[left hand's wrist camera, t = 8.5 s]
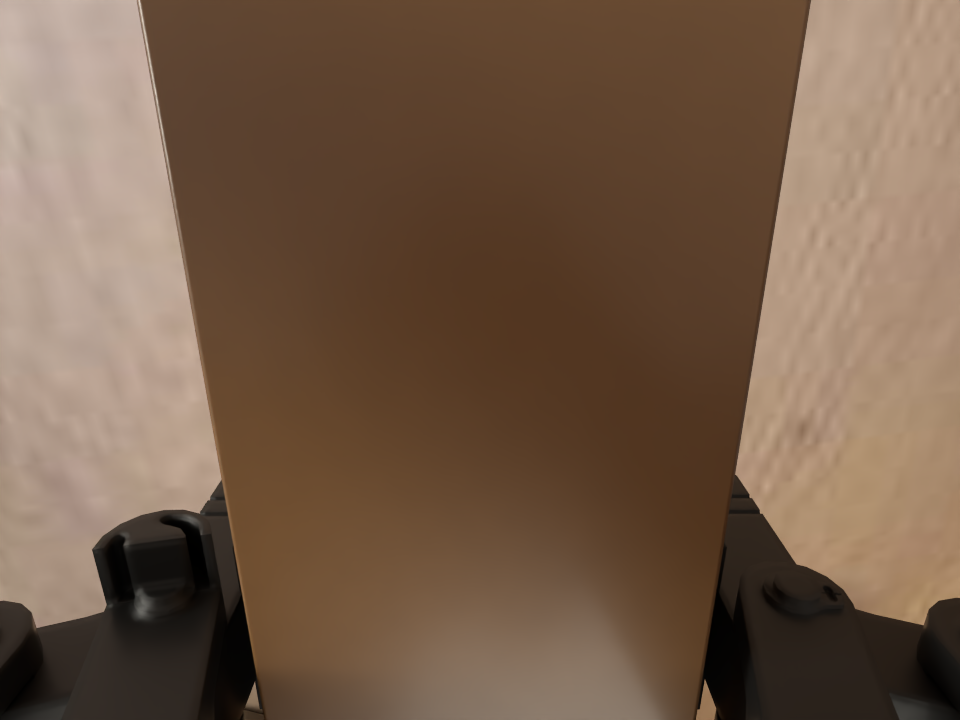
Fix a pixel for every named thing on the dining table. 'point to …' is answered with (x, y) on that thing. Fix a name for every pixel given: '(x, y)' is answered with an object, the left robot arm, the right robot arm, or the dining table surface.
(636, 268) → the post
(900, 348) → the dining table surface
